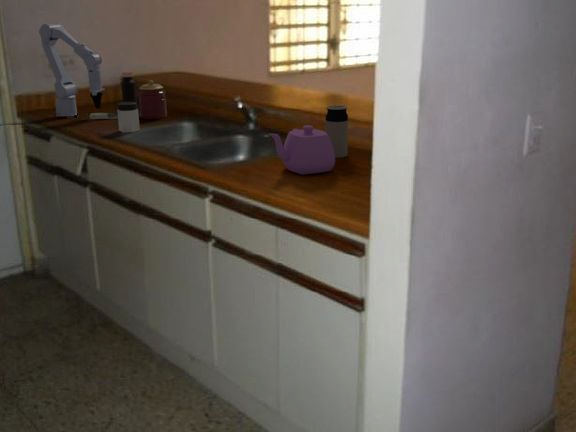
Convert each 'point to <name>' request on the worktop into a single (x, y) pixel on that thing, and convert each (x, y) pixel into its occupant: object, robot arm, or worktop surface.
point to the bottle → (128, 88)
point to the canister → (152, 101)
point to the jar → (128, 117)
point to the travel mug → (337, 129)
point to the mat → (112, 116)
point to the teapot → (306, 151)
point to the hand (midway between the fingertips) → (98, 108)
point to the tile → (98, 115)
